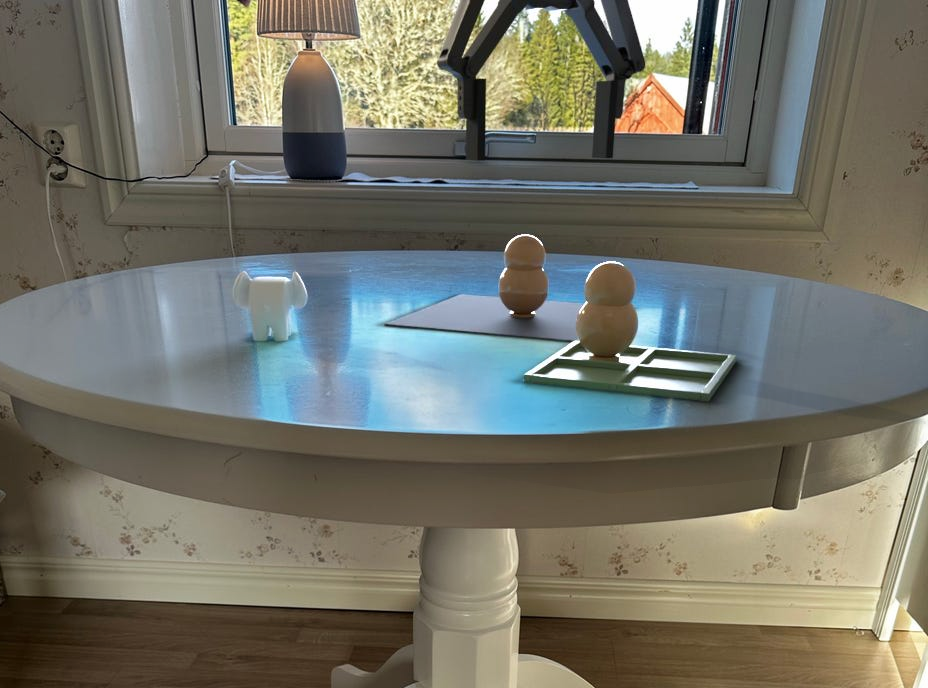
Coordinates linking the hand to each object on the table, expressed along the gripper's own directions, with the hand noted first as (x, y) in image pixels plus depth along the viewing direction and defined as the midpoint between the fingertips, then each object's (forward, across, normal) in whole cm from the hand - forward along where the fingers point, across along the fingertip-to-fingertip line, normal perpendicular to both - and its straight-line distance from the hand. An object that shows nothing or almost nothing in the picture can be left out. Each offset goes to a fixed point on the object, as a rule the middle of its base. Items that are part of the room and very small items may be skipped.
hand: (540, 159), depth 91 cm
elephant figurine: (+15, +27, 0) cm, 31 cm away
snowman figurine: (+15, +3, +19) cm, 24 cm away
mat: (+15, +2, -1) cm, 15 cm away
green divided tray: (+15, +3, +24) cm, 29 cm away
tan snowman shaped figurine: (+14, +1, -1) cm, 14 cm away
